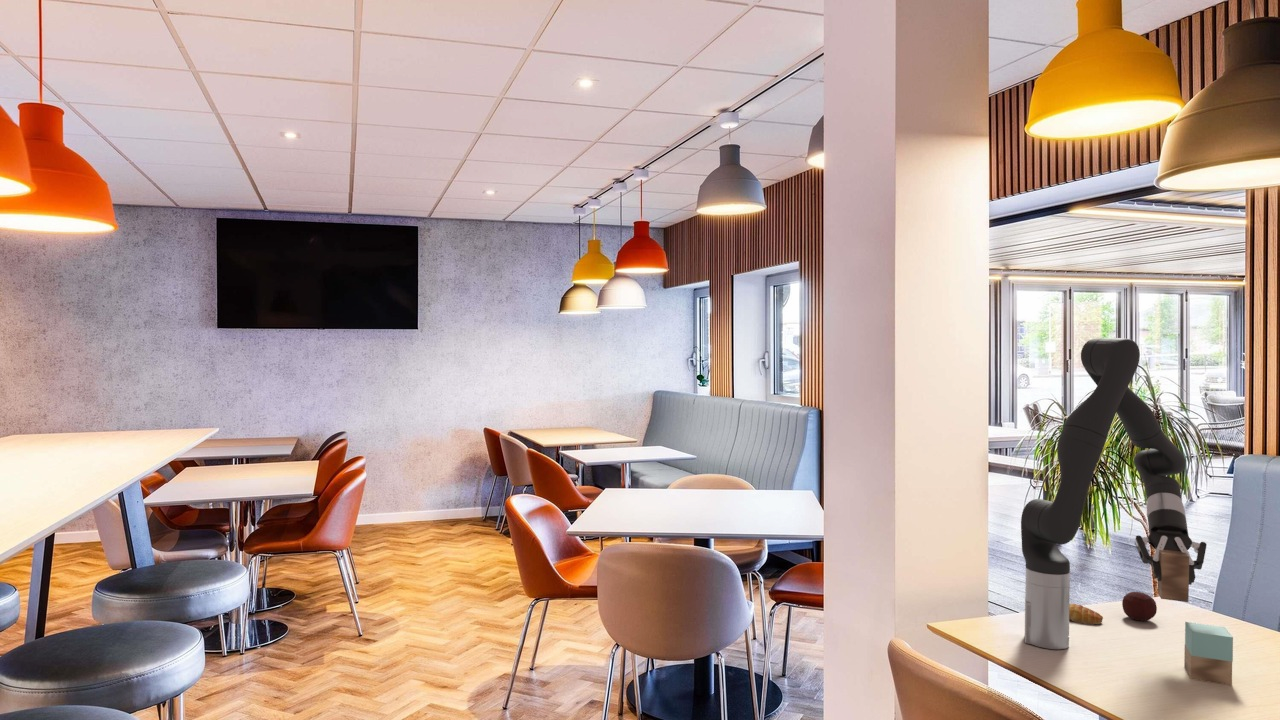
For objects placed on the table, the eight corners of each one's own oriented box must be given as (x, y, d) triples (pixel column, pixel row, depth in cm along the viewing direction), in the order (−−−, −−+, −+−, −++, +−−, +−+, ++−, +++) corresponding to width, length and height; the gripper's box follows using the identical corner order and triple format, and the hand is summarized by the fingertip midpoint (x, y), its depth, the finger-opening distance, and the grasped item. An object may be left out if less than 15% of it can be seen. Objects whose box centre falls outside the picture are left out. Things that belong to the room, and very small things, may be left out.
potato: (1132, 613, 206) (1132, 586, 206) (1163, 622, 199) (1163, 594, 199) (1115, 617, 203) (1115, 590, 203) (1145, 626, 196) (1146, 598, 196)
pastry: (1105, 621, 200) (1105, 606, 200) (1099, 628, 195) (1099, 613, 195) (1064, 613, 206) (1064, 598, 206) (1057, 619, 201) (1057, 604, 201)
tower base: (1190, 679, 164) (1191, 655, 164) (1184, 667, 170) (1184, 644, 170) (1231, 685, 160) (1232, 661, 160) (1223, 673, 167) (1224, 650, 167)
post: (1161, 598, 173) (1162, 553, 173) (1157, 592, 178) (1158, 549, 178) (1188, 602, 171) (1189, 556, 171) (1184, 596, 176) (1184, 551, 176)
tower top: (1191, 655, 163) (1191, 631, 163) (1184, 644, 170) (1185, 621, 170) (1232, 661, 160) (1233, 637, 160) (1224, 650, 167) (1224, 626, 167)
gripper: (1132, 504, 184) (1138, 567, 173) (1206, 510, 178) (1217, 576, 167) (1128, 523, 189) (1134, 585, 178) (1200, 529, 183) (1211, 594, 172)
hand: (1174, 580), depth 173 cm, fingers closed on post, 5 cm apart
